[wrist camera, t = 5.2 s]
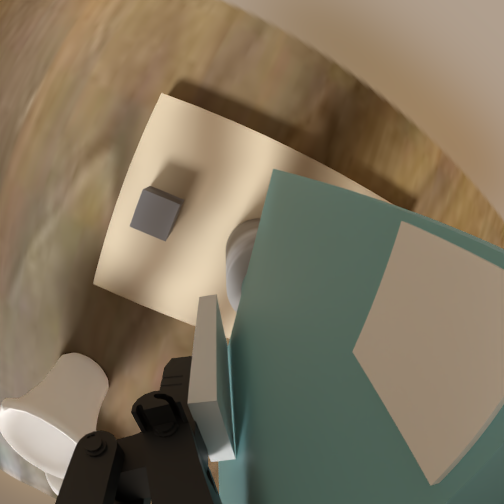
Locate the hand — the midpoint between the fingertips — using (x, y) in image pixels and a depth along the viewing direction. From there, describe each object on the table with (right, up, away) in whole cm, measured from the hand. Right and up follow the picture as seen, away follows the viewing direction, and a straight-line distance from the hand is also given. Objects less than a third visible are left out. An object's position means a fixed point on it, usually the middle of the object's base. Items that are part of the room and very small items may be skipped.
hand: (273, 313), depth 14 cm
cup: (-17, -9, +11) cm, 22 cm away
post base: (-1, +3, +9) cm, 9 cm away
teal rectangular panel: (0, +1, +1) cm, 2 cm away
